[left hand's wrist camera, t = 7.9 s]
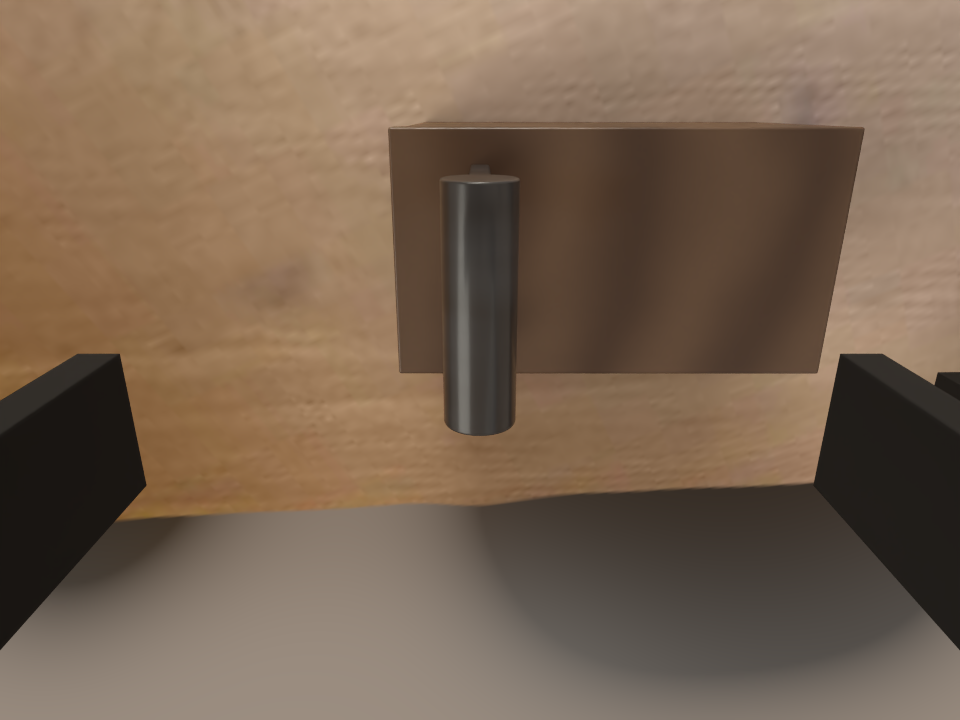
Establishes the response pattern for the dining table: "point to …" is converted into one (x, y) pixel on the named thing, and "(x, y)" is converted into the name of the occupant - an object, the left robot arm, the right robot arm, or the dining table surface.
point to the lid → (612, 253)
